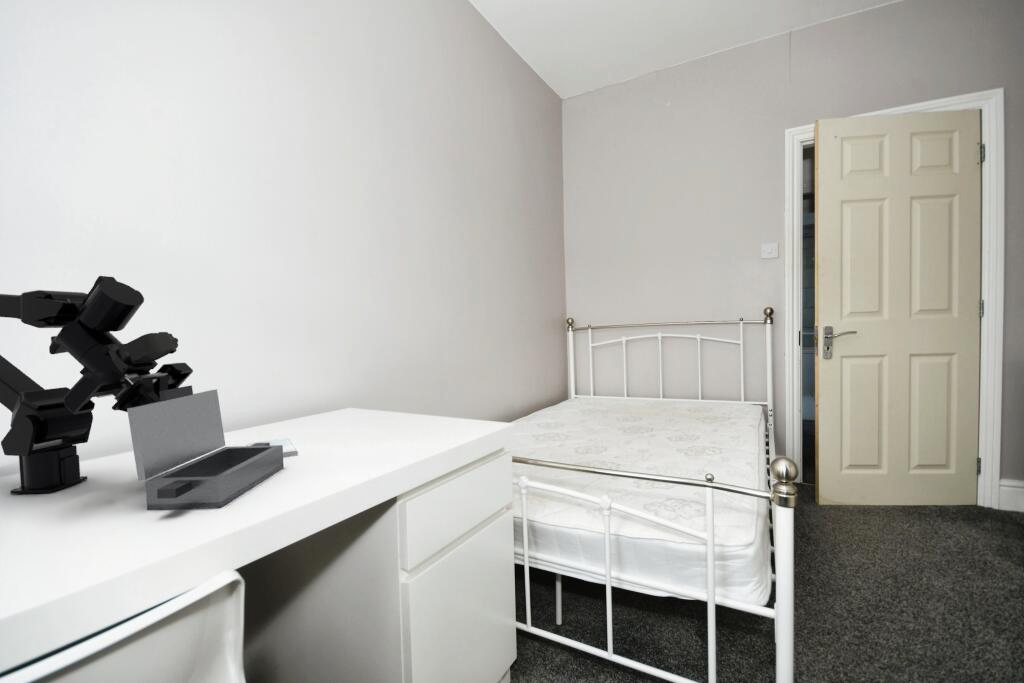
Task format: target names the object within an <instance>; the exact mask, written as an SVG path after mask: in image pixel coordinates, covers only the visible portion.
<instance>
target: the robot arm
mask: <svg viewBox="0 0 1024 683" xmlns="http://www.w3.org/2000/svg"><path fill="white" fill-rule="evenodd" d="M144 302H145V297H144V295H143V294H142V292H140V291H139V290H137V289H135V288H133V287H132V286H130V285H128V284H125V283H123V282H120V281H117V279H116V278H115V277H114V276H108V275H107V276H106V275H98V277H97V278H96V280H95V281H94V283H93V286H92V287H91V289H90V290H89V291H88V293H86V292H83V291H82V292H81V291H80V292H79V291H64V290H62V291H61V290H44V289H42V290H41V289H36V290H31V291H30V290H29V291H25V292H22V293H21V294H11V293H10V294H7V293H0V318H8V319H9V318H12V319H17V320H20V322H22V324H24V325H28V326H31V327H35V328H38V329H60V331H59V332H58V333H57V335H54V336H51V337H50V345H49V347H48V348H49V350H48V351H49V354H51V355H58V354H64V353H68V354H69V355H70V356H71V357H73V359H75V360H76V361H77V362H78V363H79V365H81V366H82V367H83V368H82V369H81V370H80V371H79V374H81V375H82V376H81V377H80V378H79V380H78V381H77V382H75V384H73V386H72V387H71V388H69V387H67V386H65V387H64V386H63V387H56V388H48V389H45V388H43V386H41V385H40V384H39V383H38V382H36V381H35V380H33V379H32V378H31V377H30V376H28V374H26V373H25V372H23V371H22V370H20V369H19V368H18V367H17V366H15V364H13V363H11V361H9V360H8V359H7V358H5V357H4V356H2V354H0V404H1V405H3V406H4V407H5V408H6V409H7V410H9V411H10V412H11V418H10V419H11V420H10V429H8V432H6V435H5V436H4V437H3V439H2V440H1V441H0V446H1V449H2V451H3V455H4V456H8V457H9V456H12V457H18V462H19V479H20V487H16V488H13V489H11V490H10V491H9V492H10V494H38V493H39V494H40V493H41V494H42V493H43V494H45V493H52V492H56V491H59V490H61V489H64V488H68V487H69V486H72V485H75V484H78V483H81V482H83V481H86V480H87V479H88V476H86V475H85V476H83V475H81V467H80V455H79V454H78V450H77V445H79V444H86V443H88V442H89V438H90V434H91V429H92V425H93V422H94V415H93V411H94V409H95V406H96V403H95V402H94V401H93V399H92V398H104V397H105V398H106V397H111V396H113V397H114V400H115V401H116V402H115V403H114V404H113V405H112V407H111V410H113V411H122V412H124V413H128V411H127V409H128V408H132V407H137V406H141V405H146V404H150V403H155V402H159V401H161V400H160V394H159V391H164V390H169V389H174V388H179V387H181V385H182V384H183V383H184V382H185V381H186V380H187V379H188V378H189V377H190V376H191V375H192V373H193V372H194V370H193V368H191V366H189V365H188V364H187V363H186V362H173V363H165V364H162V365H161V367H159V369H157V371H156V372H153V373H151V372H150V371H151V370H153V369H155V368H156V367H157V366H158V365H159V363H158V362H157V361H158V360H160V359H161V358H164V357H165V356H168V355H169V354H171V355H172V354H175V353H176V352H178V350H177V349H178V347H179V339H178V338H177V337H174V336H173V334H172V333H169V332H168V331H159V332H151V333H146V334H143V335H141V336H139V337H137V338H135V339H133V340H131V341H129V342H127V343H122V342H121V341H120V340H119V339H118V338H117V337H116V336H115V335H114V334H113V333H111V332H121V331H122V330H124V329H125V328H126V326H127V325H128V323H129V322H130V321H131V319H132V318H133V317H134V316H135V314H136V313H137V311H138V310H139V309H140V307H142V305H143V303H144Z"/></svg>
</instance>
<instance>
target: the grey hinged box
mask: <svg viewBox="0 0 1024 683" xmlns="http://www.w3.org/2000/svg"><path fill="white" fill-rule="evenodd" d="M254 443H255V444H253V445H251V446H246V445H243V446H224V447H221V448H219V449H216V450H214V451H212V452H209V453H207V454H205V455H202V456H200V457H198V458H195V459H193V460H191V461H188V462H186V463H184V464H181V465H179V466H177V467H174V468H172V469H170V470H167V471H165V472H162V473H160V474H158V475H155V476H153V477H151V478H148V479H146V480H145V493H146V496H145V497H146V510H147V511H151V510H152V511H154V510H155V511H156V510H157V511H158V510H161V511H162V510H191V509H192V510H193V509H194V510H195V509H196V510H197V509H222V507H224V506H225V505H227V504H229V503H230V502H232V501H233V500H235V499H236V498H238V497H240V496H241V495H244V494H245V493H246V492H248V491H249V490H251V489H253V488H254V487H256V486H257V485H259V484H260V483H262V482H263V481H265V480H266V479H268V478H269V477H271V476H273V475H274V474H276V473H278V472H279V471H281V470H282V469H284V458H283V445H273V446H270V443H256V442H254Z"/></svg>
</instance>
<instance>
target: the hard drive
mask: <svg viewBox="0 0 1024 683" xmlns="http://www.w3.org/2000/svg"><path fill="white" fill-rule="evenodd" d="M255 443H270V446H273V445H283V459H284V458H290V457H296V456H298V454H299V451H298V450H297V448H296V447H295V446H294V444H293V442H292V441H291V439H290V438H288V437H285V438H279V439H271V440H265V441H256V442H251V443H247V444H245V446H251V445H253V444H255Z"/></svg>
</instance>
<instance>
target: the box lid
mask: <svg viewBox="0 0 1024 683" xmlns="http://www.w3.org/2000/svg"><path fill="white" fill-rule="evenodd" d="M159 394H160V400H161V401H159V402H155V403H150V404H146V405H141V406H137V407H132V408H128V409H127V411H128V412H127V417H128V424H129V428H130V436H131V442H132V449H133V455H134V456H133V457H134V461H135V467H136V468H135V469H136V473H137V479H138V481H147V480H149V479H152V478H154V477H156V476H159V475H161V474H163V473H166V472H168V471H170V470H173V469H175V468H177V467H180V466H182V465H184V464H187V463H189V462H191V461H194V460H196V459H198V458H201V457H203V456H205V455H208V454H210V453H212V452H215V451H217V450H219V449H222V448H224V447H226V439H225V432H224V426H223V421H222V419H223V418H222V413H221V407H220V406H221V405H220V400H219V393H218V389H217V388H216V389H210V390H206V391H202V392H201V391H200V392H196V393H194V390H193V385H185V386H179V387H178V388H174V389H169V390H164V391H159Z"/></svg>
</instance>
